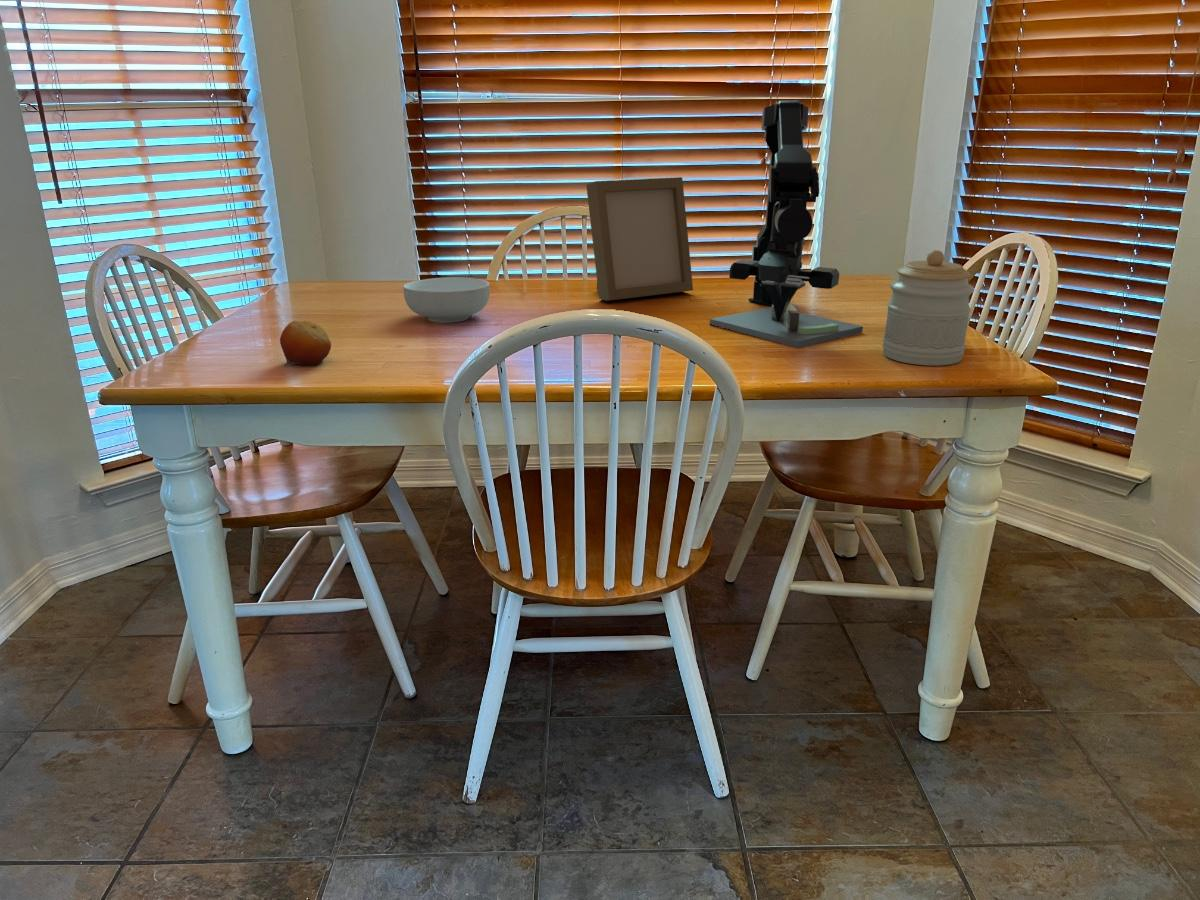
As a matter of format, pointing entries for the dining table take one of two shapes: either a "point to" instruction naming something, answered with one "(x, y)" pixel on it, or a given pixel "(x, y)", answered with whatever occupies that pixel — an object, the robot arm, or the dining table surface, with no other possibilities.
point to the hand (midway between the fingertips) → (779, 321)
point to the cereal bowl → (447, 298)
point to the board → (773, 330)
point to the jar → (928, 312)
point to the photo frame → (639, 237)
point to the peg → (789, 317)
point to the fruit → (304, 343)
